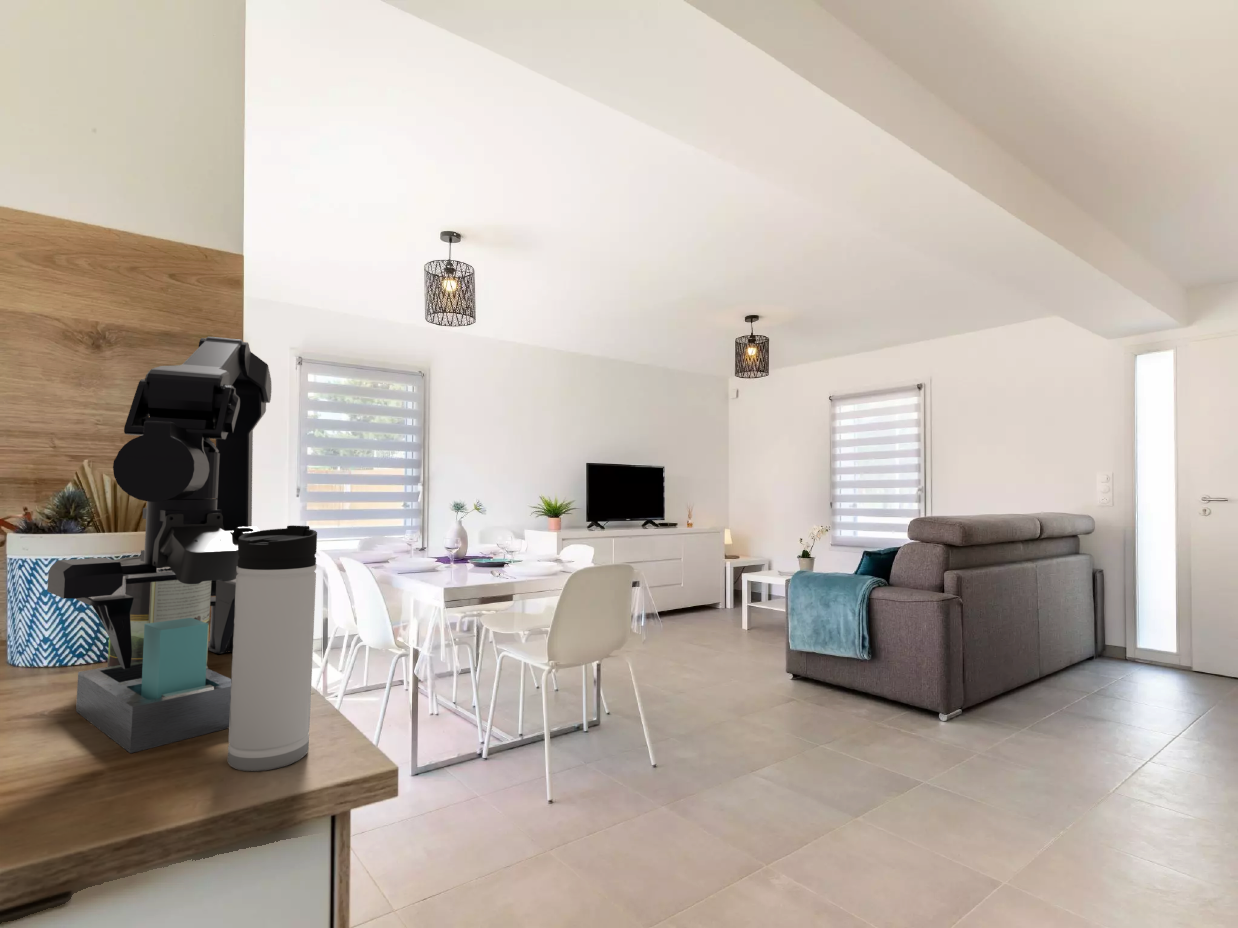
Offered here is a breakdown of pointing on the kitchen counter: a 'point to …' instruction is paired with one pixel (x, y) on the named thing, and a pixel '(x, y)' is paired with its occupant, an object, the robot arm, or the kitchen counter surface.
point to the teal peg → (173, 656)
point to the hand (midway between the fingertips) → (175, 659)
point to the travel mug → (272, 648)
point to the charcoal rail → (150, 707)
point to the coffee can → (161, 607)
